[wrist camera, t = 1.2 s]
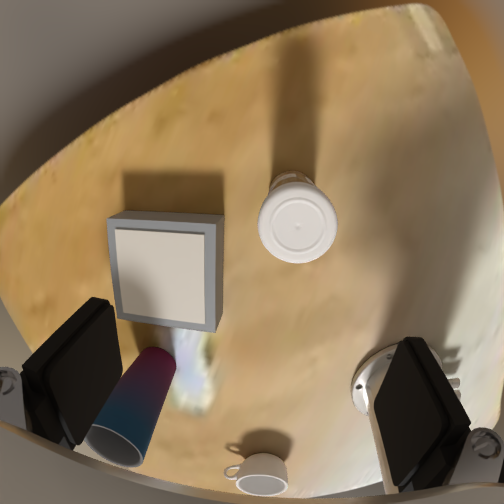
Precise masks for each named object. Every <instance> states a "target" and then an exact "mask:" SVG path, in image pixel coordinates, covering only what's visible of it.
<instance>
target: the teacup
mask: <svg viewBox="0 0 504 504" xmlns="http://www.w3.org/2000/svg"><path fill="white" fill-rule="evenodd" d="M229 469H239V471H238V472H237V473H236V474H235V475H233V476H228V475H227V474H226V472H227V471H228V470H229ZM224 476H225V477H226V478H227V479H230V480H235V479H237V480H236V486H237V488H238V489H240V490H241V491H243V492H245V493H248V494H251V495H256V496H274V495H278V494H281V493H283V492H285V491H286V490H287V488H288V478H287V468H286V465H285V464H284V462H283V461H282V460H281V459H280V458H279V457H277V456H275V455H272V454H268V453H258V454H254V455H251V456H249V457H248V458H246V459H245V460H244V461H243V463H242V464H238V465H233V466H229V467H227V468H226V469H225V470H224Z"/></svg>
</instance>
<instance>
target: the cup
mask: <svg viewBox="0 0 504 504" xmlns="http://www.w3.org/2000/svg"><path fill="white" fill-rule="evenodd" d="M175 371H176V363H175V360H174V359H173V357H172V356H171V355H170V354H169V353H168V352H166V351H165V350H163V349H161V348H158V347H148V348H146V349H144V350H143V351H142V352H141V353H140V355H139V356H138V357H137V358H136V360H135V361H134V362H133V363H132V365H131V366H130V367H129V368H128V370H127V371H126V372H125V373H124V374H123V376H122V377H121V378H120V379H119V381H118V383H117V384H116V386H115V388H114V389H113V391H112V393H111V394H110V396H109V398H108V399H107V401H106V403H105V404H104V406H103V408H102V409H101V411H100V413H99V414H98V416H97V418H96V419H95V421H94V423H93V424H92V426H91V428H90V430H89V431H88V433H87V435H86V436H85V438H84V441H85V442H86V443H87V445H88V446H89V447H90V448H91V449H92V450H93V451H95V452H96V453H97V454H99V455H100V456H101V457H103V458H104V459H106V460H108V461H110V462H112V463H115V464H117V465H121V466H124V467H138V466H140V465H141V464H142V463H143V460H144V457H145V454H146V451H147V449H148V446H149V443H150V440H151V437H152V434H153V431H154V429H155V426H156V423H157V420H158V417H159V415H160V412H161V409H162V406H163V404H164V401H165V398H166V395H167V393H168V390H169V387H170V384H171V382H172V379H173V376H174V374H175Z"/></svg>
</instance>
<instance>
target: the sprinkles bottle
mask: <svg viewBox="0 0 504 504" xmlns="http://www.w3.org/2000/svg"><path fill="white" fill-rule="evenodd" d="M337 227H338V222H337V215H336V211H335V209H334V207H333V205H332V203H331V202H330V200H329V198H328V197H327V196H326V195H325V194H324V193H323V192H322V191H321V190H320V189H318V188H317V187H316V186H315V184H314V183H313V182H312V181H311V180H310V179H309V178H308V177H307V176H306V175H305V174H303V173H301V172H298V171H287V172H283V173H281V174H279V175H278V176H277V177H276V178H275V179H274V180H273V182H272V183H271V185H270V188H269V193H268V196H267V197H266V199H265V200H264V202H263V204H262V206H261V209H260V212H259V216H258V232H259V236H260V238H261V241H262V243H263V244H264V246H265V247H266V249H267V250H268V251H269V252H270V253H271V254H273V255H274V256H275V257H277V258H279V259H281V260H283V261H286V262H290V263H305V262H309V261H312V260H315V259H317V258H318V257H320V256H321V255H323V254H324V253H325V252H326V251H327V250H328V249H329V248H330V246H331V245H332V243H333V241H334V239H335V237H336V233H337Z"/></svg>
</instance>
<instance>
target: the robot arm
mask: <svg viewBox="0 0 504 504" xmlns="http://www.w3.org/2000/svg"><path fill="white" fill-rule="evenodd" d="M22 368H23V371H22V372H21V373H20V374H19V373H18V371H16V370H15V369H13V368H9V367H0V504H504V442H503V440H502V438H501V437H500V436H499V435H498V434H497V433H496V432H494V431H493V430H491V429H488V428H480V427H479V428H476V429H473V430H472V431H471V430H470V428H469V425H470V424H471V421H470V419H469V417H468V416H467V414H466V412H465V410H464V408H463V406H462V404H461V402H460V398H461V393H460V391H459V390H453V388H458V387H459V385H460V380H459V378H453V379H447V377H446V376H445V374H444V372H443V371H442V362H441V360H440V358H439V356H438V354H437V353H436V352H435V350H434V349H432V348H431V347H430V346H428V345H427V344H426V342H425V341H424V339H423V338H421V337H406V338H404V340H403V341H400V342H399V343H398V344H396V345H393V346H390V347H387V348H385V349H383V350H381V351H379V352H378V353H376V354H375V355H373V356H372V357H370V358H369V359H368V360H367V361H366V362H365V363H364V364H363V365H362V366H361V367H360V369H359V370H358V371H357V373H356V375H355V376H354V379H353V381H352V384H351V396H352V400H353V404H354V405H355V407H356V408H357V409H358V410H359V411H360V412H361V413H363V414H364V415H366V416H369V419H370V424H371V428H372V432H373V436H374V441H375V445H376V450H377V454H378V459H379V464H380V468H381V473H382V478H383V483H384V488H385V493H386V495H379V496H367V497H354V498H334V499H333V498H332V499H302V498H277V497H263V496H252V495H243V494H235V493H227V492H221V491H214V490H208V489H202V488H197V487H192V486H187V485H182V484H178V483H173V482H169V481H165V480H161V479H157V478H153V477H149V476H145V475H142V474H138V473H135V472H132V471H128V470H125V469H122V468H119V467H116V466H113V465H110V464H107V463H104V462H101V461H98V460H96V459H93V458H90V457H88V456H85V455H82V454H80V453H77V452H75V451H73V449H74V448H75V446H76V445H80V444H81V443H82V442H83V440H84V438H85V436H86V435H87V433H88V431H89V430H90V428H91V426H92V424H93V423H94V421H95V419H96V418H97V416H98V414H99V413H100V411H101V409H102V408H103V406H104V404H105V403H106V401H107V399H108V398H109V396H110V394H111V393H112V391H113V389H114V388H115V386H116V384H117V383H118V381H119V379H120V378H121V376H122V372H123V366H122V361H121V355H120V349H119V342H118V335H117V328H116V320H115V312H114V307H113V306H112V305H110V303H109V301H108V300H105V299H100V298H96V297H91V298H90V299H89V300H88V301H87V302H86V303H85V304H84V305H82V306H81V307H80V308H79V309H78V310H77V311H76V312H75V313H74V314H73V315H72V316H71V317H70V318H69V319H68V320H67V321H66V322H65V323H64V324H63V325H61V326H60V327H59V328H58V329H57V330H56V331H55V332H54V333H53V334H52V335H51V336H50V337H49V338H48V339H47V340H46V341H45V342H44V343H43V344H42V345H41V346H40V347H39V348H38V349H37V350H36V351H35V352H34V353H33V354H32V355H31V357H30V358H29V359H28V360H27V361H26V362H25V363H24V364H23V365H22Z"/></svg>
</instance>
